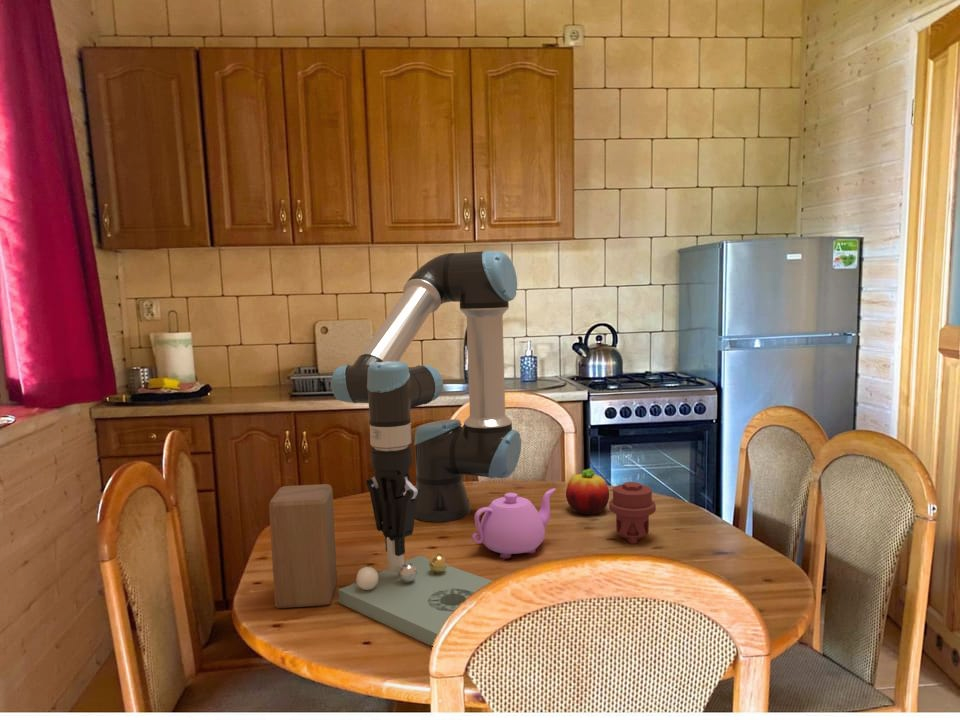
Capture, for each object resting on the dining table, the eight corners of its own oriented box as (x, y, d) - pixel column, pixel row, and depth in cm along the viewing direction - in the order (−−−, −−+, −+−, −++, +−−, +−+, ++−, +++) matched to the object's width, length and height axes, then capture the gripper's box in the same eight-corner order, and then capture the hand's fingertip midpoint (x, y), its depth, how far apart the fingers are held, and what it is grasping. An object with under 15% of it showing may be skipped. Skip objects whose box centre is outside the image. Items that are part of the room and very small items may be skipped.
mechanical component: (654, 531, 153) (657, 548, 143) (609, 529, 155) (609, 545, 145) (654, 478, 152) (656, 491, 142) (609, 477, 154) (608, 490, 144)
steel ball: (394, 582, 124) (393, 564, 123) (408, 576, 126) (407, 558, 126) (407, 587, 121) (406, 569, 121) (421, 581, 124) (420, 562, 124)
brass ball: (425, 573, 128) (424, 555, 127) (438, 567, 130) (437, 549, 130) (438, 577, 125) (437, 559, 125) (451, 571, 128) (450, 554, 128)
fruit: (561, 515, 165) (560, 476, 164) (572, 502, 175) (571, 465, 174) (604, 520, 161) (603, 479, 160) (613, 506, 171) (613, 468, 170)
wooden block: (285, 586, 129) (279, 485, 127) (338, 583, 130) (332, 482, 128) (274, 610, 120) (267, 501, 118) (331, 607, 120) (325, 498, 118)
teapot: (542, 530, 156) (541, 479, 154) (573, 551, 143) (572, 495, 141) (461, 544, 148) (459, 491, 147) (485, 568, 135) (484, 509, 134)
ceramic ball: (352, 589, 121) (351, 568, 121) (369, 582, 124) (368, 561, 124) (366, 596, 119) (365, 574, 118) (383, 588, 122) (382, 566, 121)
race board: (339, 603, 122) (338, 589, 121) (419, 567, 137) (419, 555, 136) (440, 650, 104) (440, 635, 104) (520, 604, 119) (520, 590, 119)
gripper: (352, 445, 125) (358, 567, 127) (398, 455, 116) (404, 586, 119) (383, 438, 130) (388, 555, 133) (430, 447, 122) (434, 572, 124)
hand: (396, 570), depth 126 cm, fingers closed
